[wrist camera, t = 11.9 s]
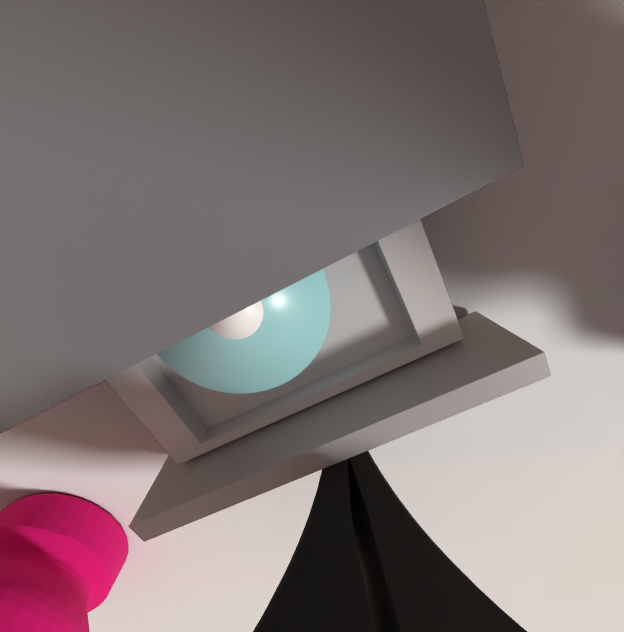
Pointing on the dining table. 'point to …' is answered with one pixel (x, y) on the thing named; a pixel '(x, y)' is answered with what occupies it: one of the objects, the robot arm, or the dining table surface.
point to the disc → (258, 341)
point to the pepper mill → (56, 562)
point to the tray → (327, 388)
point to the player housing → (216, 162)
